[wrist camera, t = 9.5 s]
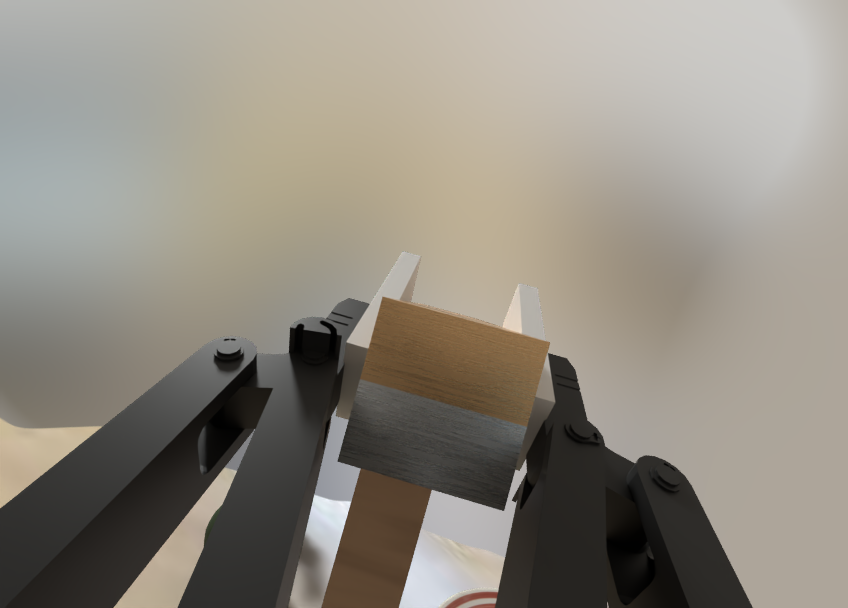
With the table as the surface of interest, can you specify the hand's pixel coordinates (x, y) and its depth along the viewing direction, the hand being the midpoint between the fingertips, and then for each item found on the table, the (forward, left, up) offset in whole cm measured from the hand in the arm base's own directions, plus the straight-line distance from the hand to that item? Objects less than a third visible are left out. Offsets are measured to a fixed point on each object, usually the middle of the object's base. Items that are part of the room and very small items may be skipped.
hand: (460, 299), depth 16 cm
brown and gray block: (+2, +3, -5) cm, 6 cm away
